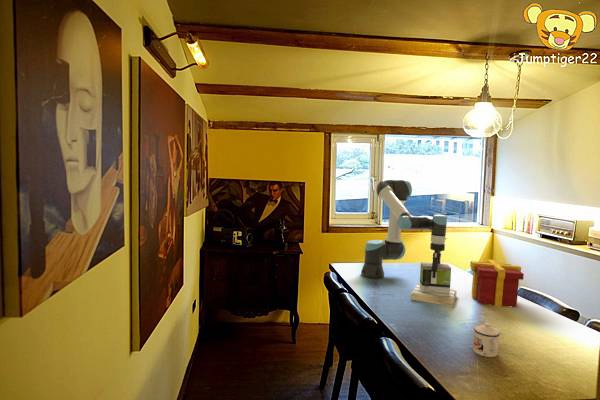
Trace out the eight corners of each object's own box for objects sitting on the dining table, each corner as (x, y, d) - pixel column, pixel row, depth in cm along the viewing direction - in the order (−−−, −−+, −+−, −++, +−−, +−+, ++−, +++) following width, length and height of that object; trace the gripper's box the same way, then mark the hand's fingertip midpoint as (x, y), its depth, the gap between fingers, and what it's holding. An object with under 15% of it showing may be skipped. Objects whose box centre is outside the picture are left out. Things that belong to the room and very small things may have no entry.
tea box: (446, 289, 228) (448, 263, 227) (449, 294, 218) (451, 267, 217) (419, 286, 231) (420, 261, 230) (421, 291, 221) (423, 265, 220)
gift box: (464, 291, 240) (467, 257, 239) (510, 295, 235) (513, 261, 234) (474, 304, 216) (477, 267, 214) (524, 310, 211) (528, 272, 209)
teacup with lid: (468, 347, 162) (470, 319, 161) (489, 347, 163) (491, 319, 162) (484, 361, 150) (487, 331, 149) (507, 361, 151) (510, 331, 150)
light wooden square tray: (416, 290, 238) (416, 283, 238) (456, 296, 229) (456, 289, 229) (410, 299, 220) (411, 292, 220) (453, 306, 211) (454, 299, 211)
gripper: (442, 247, 209) (439, 287, 211) (447, 240, 232) (444, 276, 233) (427, 245, 212) (424, 284, 214) (433, 238, 235) (430, 274, 237)
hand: (435, 280), depth 224 cm, fingers open, 13 cm apart
